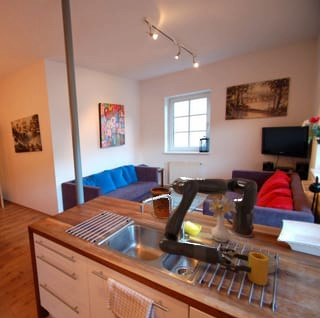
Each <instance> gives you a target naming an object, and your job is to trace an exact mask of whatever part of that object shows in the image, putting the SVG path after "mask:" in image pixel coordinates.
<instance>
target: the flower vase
mask: <svg viewBox="0 0 320 318" xmlns="http://www.w3.org/2000/svg"><path fill="white" fill-rule="evenodd" d="M221 196H222V198H221V200H220V199H219V198H218V196H213V197H212V199H211V200H210V201H209V202H208V207H209V208H208V209H209V212H210V213H213V215H212V217H213V218H214V219H215V218H217V220H216V225H215V227H213V228H211V230H210V235H211V237H213V239H214V241H216V242H219V243H226V242H227V241H228V240H230V239H231V233H230V232H229V230H228V229H227V228H226V226H225V218H226V217H224V216H225V215H226V214H227V215H228V216H232V212H233V214H234V213H235V212H236V209H235V208H234V207H235V205H236V204H235V203H234V201H235V199H232V198H231V197H227V198H226V196H225V195H224V194H222V195H221Z"/></svg>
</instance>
